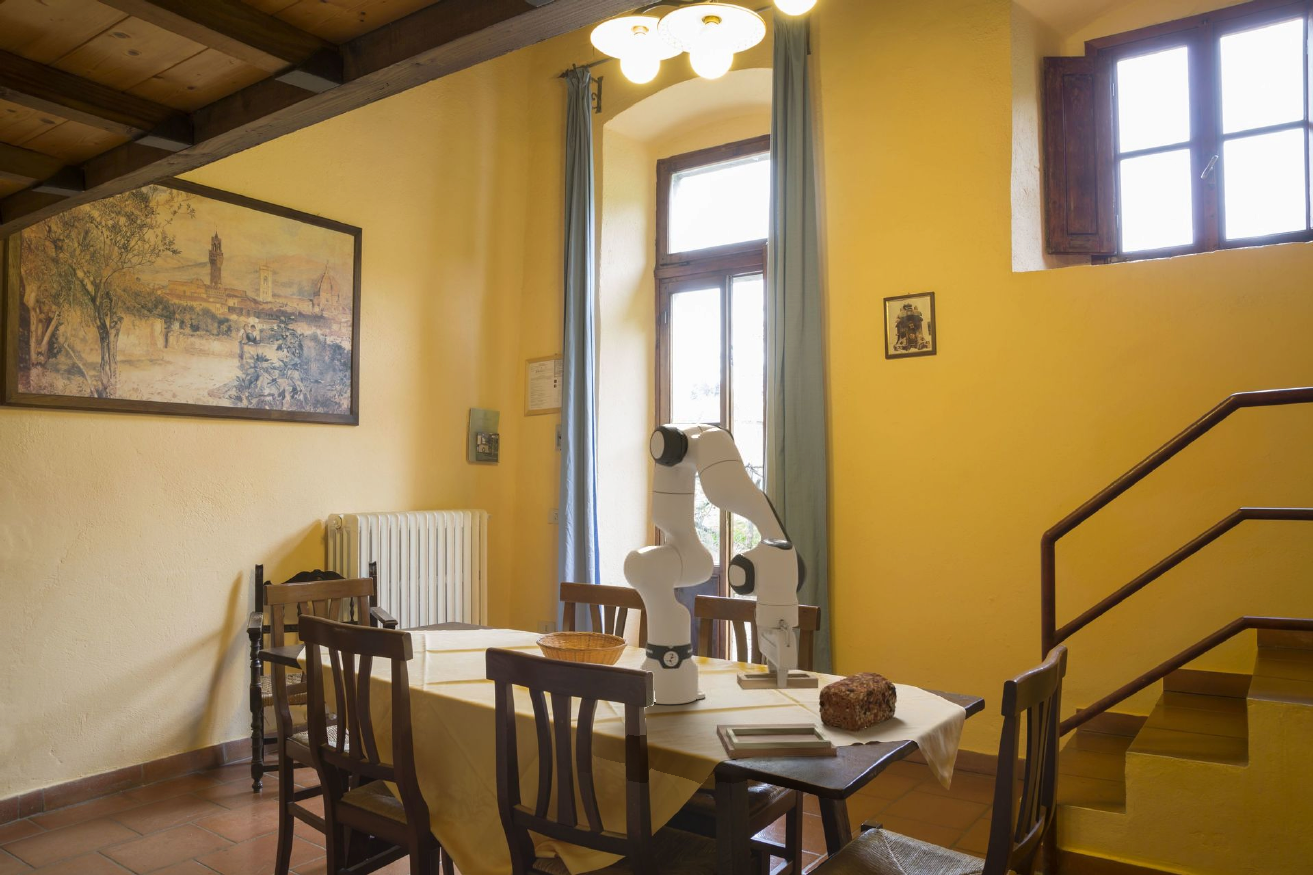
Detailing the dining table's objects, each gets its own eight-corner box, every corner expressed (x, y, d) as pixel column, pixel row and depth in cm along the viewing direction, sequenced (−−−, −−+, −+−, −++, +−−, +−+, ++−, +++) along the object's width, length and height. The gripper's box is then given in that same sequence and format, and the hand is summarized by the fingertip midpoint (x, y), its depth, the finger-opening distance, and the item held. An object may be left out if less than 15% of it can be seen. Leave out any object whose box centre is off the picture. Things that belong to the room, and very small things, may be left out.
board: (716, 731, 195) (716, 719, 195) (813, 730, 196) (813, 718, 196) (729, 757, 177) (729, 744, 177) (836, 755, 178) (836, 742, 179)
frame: (737, 683, 186) (737, 673, 186) (810, 681, 188) (810, 672, 188) (742, 689, 180) (742, 680, 180) (818, 688, 182) (818, 678, 182)
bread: (860, 709, 215) (860, 668, 216) (899, 717, 208) (899, 675, 208) (816, 724, 202) (816, 680, 202) (857, 733, 194) (856, 688, 195)
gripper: (804, 624, 175) (804, 694, 174) (780, 609, 195) (780, 672, 194) (773, 625, 174) (773, 695, 173) (752, 609, 194) (752, 672, 194)
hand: (777, 682), depth 184 cm, fingers closed on frame, 6 cm apart
